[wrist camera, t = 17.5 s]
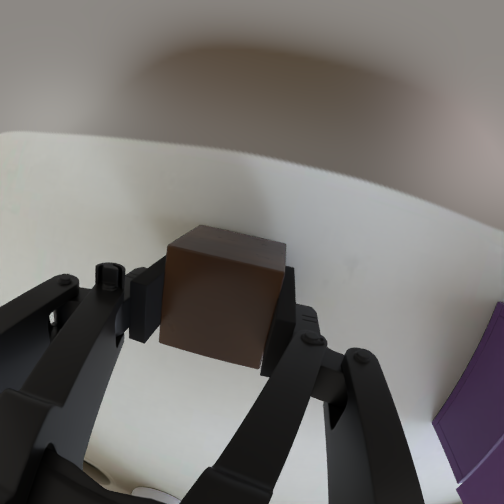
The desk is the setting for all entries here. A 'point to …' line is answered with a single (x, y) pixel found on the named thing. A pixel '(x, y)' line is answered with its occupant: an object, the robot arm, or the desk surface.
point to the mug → (155, 495)
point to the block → (221, 294)
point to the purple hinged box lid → (485, 481)
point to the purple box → (476, 405)
